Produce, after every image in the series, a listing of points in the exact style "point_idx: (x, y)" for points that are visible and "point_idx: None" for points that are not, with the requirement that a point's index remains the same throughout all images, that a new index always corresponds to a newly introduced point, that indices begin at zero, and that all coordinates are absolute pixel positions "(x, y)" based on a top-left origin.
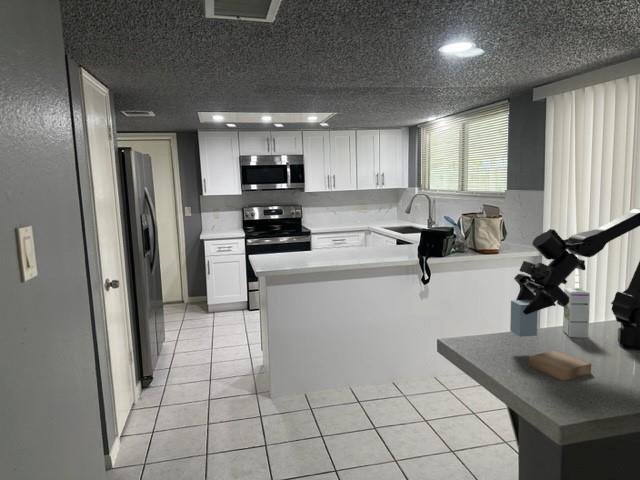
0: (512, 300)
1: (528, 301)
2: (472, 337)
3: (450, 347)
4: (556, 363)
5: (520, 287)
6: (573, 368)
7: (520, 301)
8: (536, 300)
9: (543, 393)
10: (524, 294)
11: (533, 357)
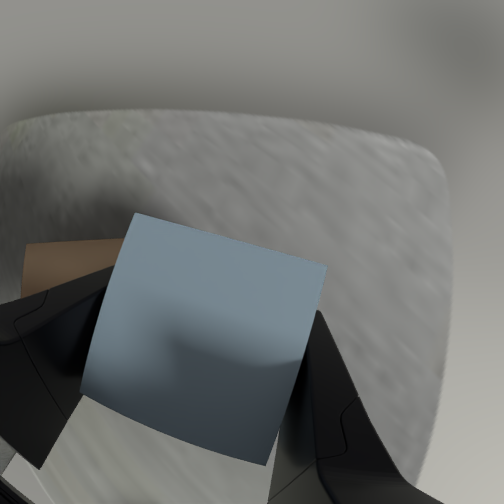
0: (322, 282)
1: (199, 413)
2: (441, 266)
3: (375, 134)
4: (53, 271)
5: (411, 497)
6: (21, 287)
7: (241, 332)
8: (7, 309)
9: (43, 161)
10: (299, 468)
11: (112, 244)
